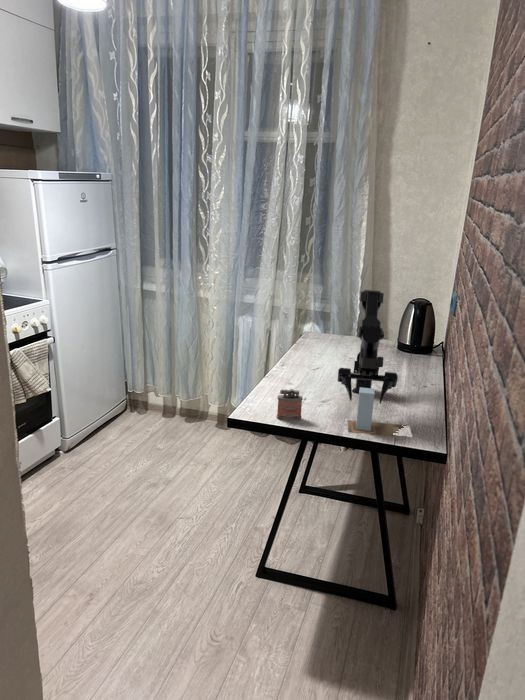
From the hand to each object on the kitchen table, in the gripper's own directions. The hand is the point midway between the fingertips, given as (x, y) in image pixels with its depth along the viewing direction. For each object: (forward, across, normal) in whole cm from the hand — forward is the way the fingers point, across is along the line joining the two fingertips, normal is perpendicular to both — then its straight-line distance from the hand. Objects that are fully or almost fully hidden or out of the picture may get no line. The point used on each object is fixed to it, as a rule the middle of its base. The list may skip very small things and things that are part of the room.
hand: (365, 401), depth 171 cm
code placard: (+7, +5, +5) cm, 10 cm away
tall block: (+7, 0, +4) cm, 8 cm away
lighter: (+6, -24, +6) cm, 25 cm away
